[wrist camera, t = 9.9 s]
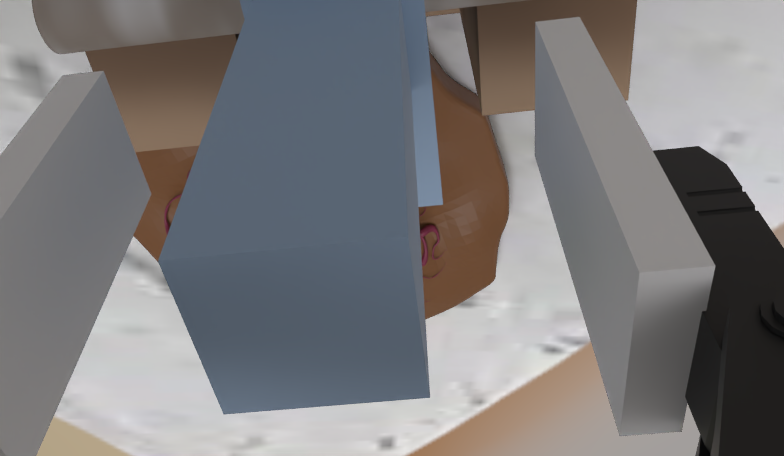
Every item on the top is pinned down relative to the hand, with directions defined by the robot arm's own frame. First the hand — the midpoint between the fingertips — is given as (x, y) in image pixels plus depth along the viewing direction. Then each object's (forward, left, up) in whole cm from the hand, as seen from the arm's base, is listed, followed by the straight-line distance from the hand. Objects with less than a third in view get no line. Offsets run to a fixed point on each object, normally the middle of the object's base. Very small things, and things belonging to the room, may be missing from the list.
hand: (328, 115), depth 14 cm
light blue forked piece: (0, 0, -15) cm, 15 cm away
